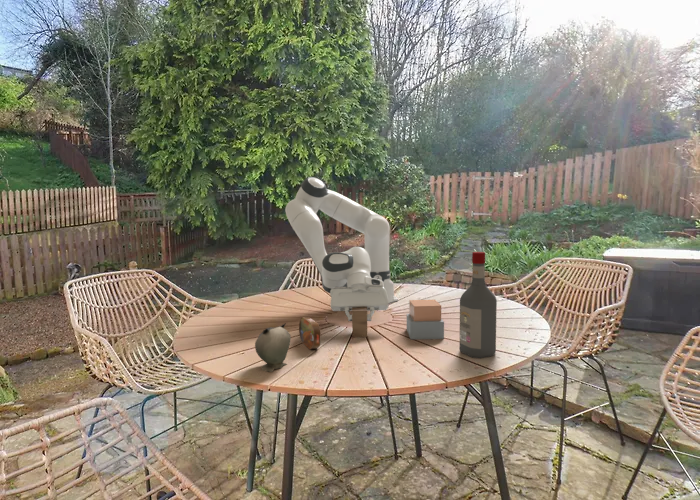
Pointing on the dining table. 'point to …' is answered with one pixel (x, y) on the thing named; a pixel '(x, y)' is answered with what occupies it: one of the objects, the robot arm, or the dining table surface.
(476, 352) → the liquor
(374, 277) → the robot arm
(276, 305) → the dining table surface
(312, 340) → the tin
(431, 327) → the tower base
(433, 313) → the tower top
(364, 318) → the walnut block
